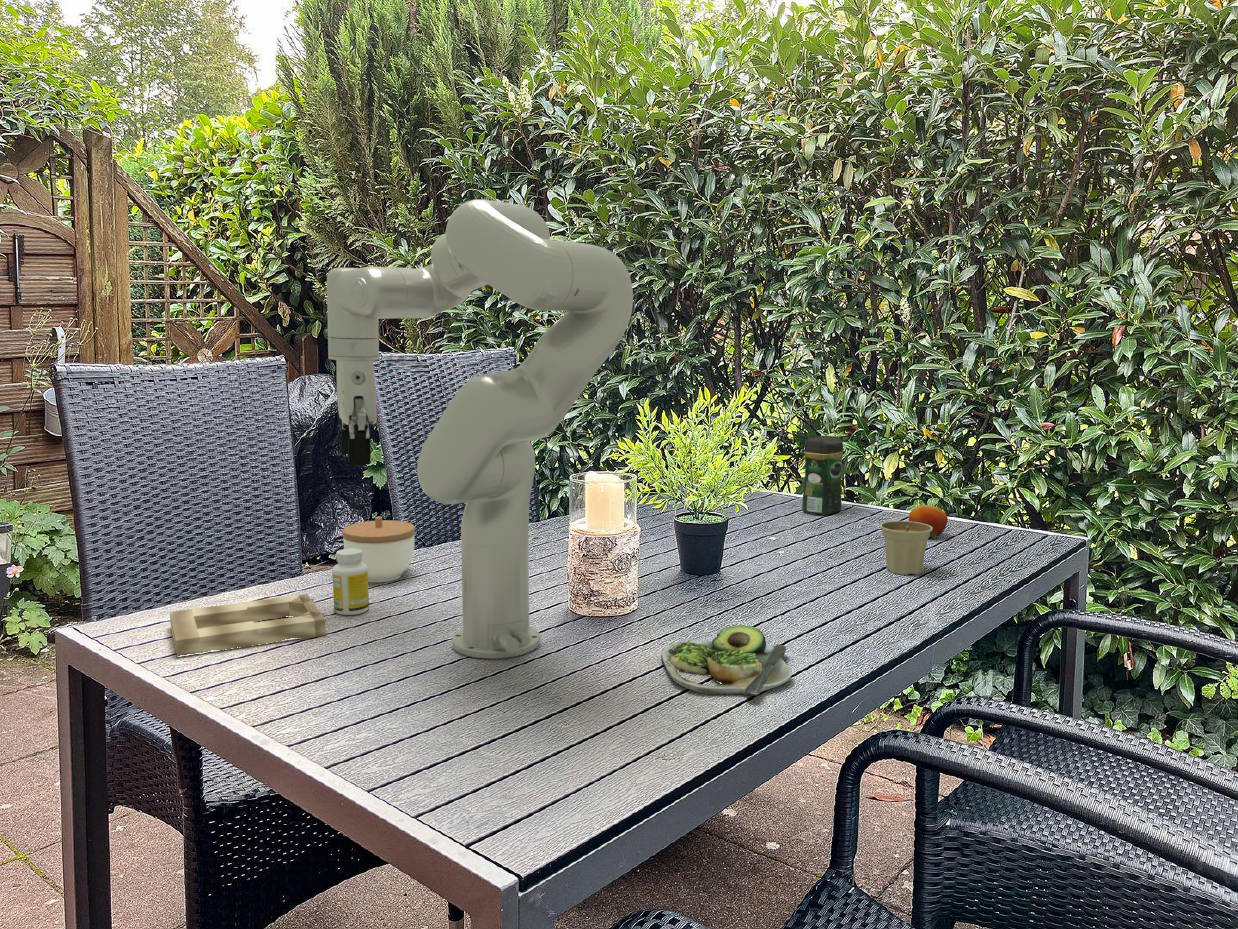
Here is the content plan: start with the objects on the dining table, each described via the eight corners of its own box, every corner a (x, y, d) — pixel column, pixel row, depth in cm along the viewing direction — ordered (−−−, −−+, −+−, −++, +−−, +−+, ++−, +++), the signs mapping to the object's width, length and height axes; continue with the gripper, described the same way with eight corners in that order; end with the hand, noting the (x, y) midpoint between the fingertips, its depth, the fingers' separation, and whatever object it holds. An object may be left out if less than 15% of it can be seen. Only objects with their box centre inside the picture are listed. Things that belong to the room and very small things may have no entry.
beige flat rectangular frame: (310, 608, 151) (309, 593, 151) (328, 635, 139) (327, 618, 138) (170, 627, 141) (169, 611, 141) (177, 658, 129) (175, 640, 129)
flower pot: (878, 576, 173) (880, 530, 171) (876, 562, 182) (879, 519, 180) (931, 579, 170) (934, 533, 169) (927, 566, 179) (930, 522, 178)
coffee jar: (818, 506, 234) (821, 432, 231) (846, 511, 228) (849, 435, 225) (795, 512, 227) (798, 436, 224) (823, 517, 221) (827, 439, 218)
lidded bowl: (430, 574, 171) (429, 515, 170) (380, 591, 161) (378, 528, 159) (380, 564, 178) (378, 507, 176) (328, 580, 167) (326, 519, 165)
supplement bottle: (374, 606, 153) (372, 547, 151) (361, 616, 147) (359, 556, 146) (341, 604, 153) (339, 546, 152) (328, 615, 148) (325, 555, 146)
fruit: (907, 534, 199) (909, 499, 202) (906, 545, 206) (908, 511, 209) (948, 537, 196) (949, 501, 199) (945, 548, 203) (947, 514, 206)
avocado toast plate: (817, 706, 116) (818, 670, 116) (674, 709, 115) (675, 673, 114) (779, 650, 135) (780, 619, 135) (656, 652, 134) (656, 621, 133)
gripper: (387, 353, 138) (388, 468, 141) (370, 346, 154) (372, 449, 157) (334, 353, 135) (336, 470, 138) (323, 345, 151) (325, 450, 154)
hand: (355, 459), depth 148 cm, fingers open, 9 cm apart
